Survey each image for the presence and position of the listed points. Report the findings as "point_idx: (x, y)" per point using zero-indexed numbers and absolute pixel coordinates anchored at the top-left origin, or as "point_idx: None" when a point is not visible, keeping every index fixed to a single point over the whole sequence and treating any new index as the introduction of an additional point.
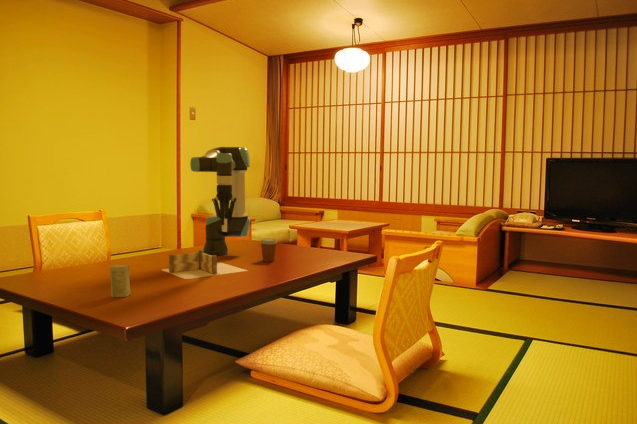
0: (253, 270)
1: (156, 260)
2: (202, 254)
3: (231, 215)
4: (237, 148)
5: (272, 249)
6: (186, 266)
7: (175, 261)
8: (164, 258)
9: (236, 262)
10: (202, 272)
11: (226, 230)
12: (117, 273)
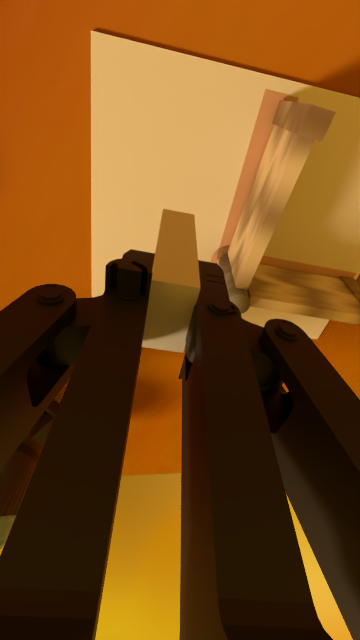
0: (50, 32)
1: None
2: (253, 271)
3: (41, 293)
4: None
5: None
6: (296, 277)
7: (351, 300)
8: (178, 434)
9: (30, 275)
10: None
11: (170, 215)
12: None
